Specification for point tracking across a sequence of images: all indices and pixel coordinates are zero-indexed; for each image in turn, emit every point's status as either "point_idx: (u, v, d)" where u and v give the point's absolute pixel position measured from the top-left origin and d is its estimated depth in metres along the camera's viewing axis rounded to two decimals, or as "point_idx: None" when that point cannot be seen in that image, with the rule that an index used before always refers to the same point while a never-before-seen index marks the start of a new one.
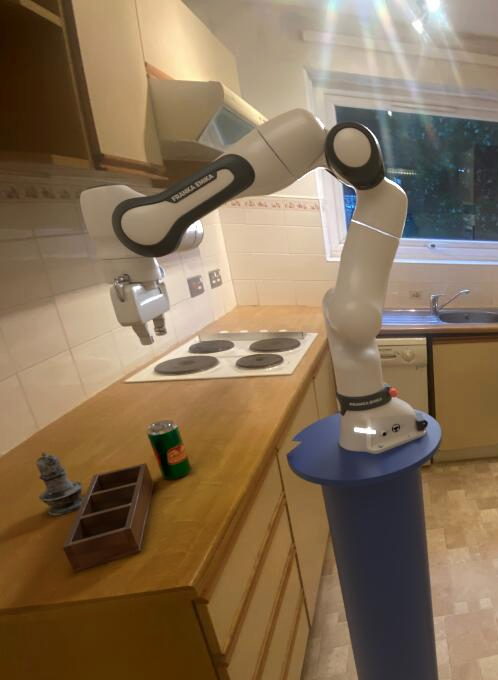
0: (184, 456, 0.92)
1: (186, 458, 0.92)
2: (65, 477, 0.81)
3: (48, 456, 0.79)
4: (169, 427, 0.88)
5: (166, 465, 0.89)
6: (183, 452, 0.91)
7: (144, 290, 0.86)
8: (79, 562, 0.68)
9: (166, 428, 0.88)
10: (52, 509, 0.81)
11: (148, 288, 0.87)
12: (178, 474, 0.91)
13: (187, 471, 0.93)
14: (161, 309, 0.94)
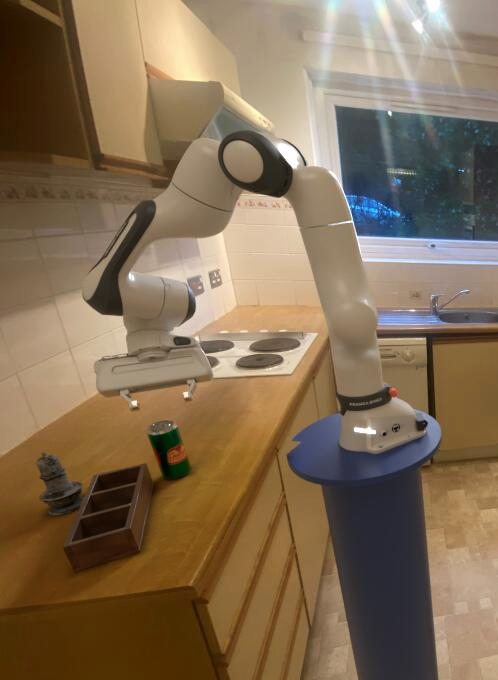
0: (184, 456, 0.92)
1: (186, 458, 0.92)
2: (65, 477, 0.81)
3: (48, 456, 0.79)
4: (169, 427, 0.88)
5: (166, 465, 0.89)
6: (183, 452, 0.91)
7: (136, 361, 0.94)
8: (79, 562, 0.68)
9: (166, 428, 0.88)
10: (52, 509, 0.81)
11: (140, 359, 0.94)
12: (178, 474, 0.91)
13: (187, 471, 0.93)
14: (174, 375, 0.96)
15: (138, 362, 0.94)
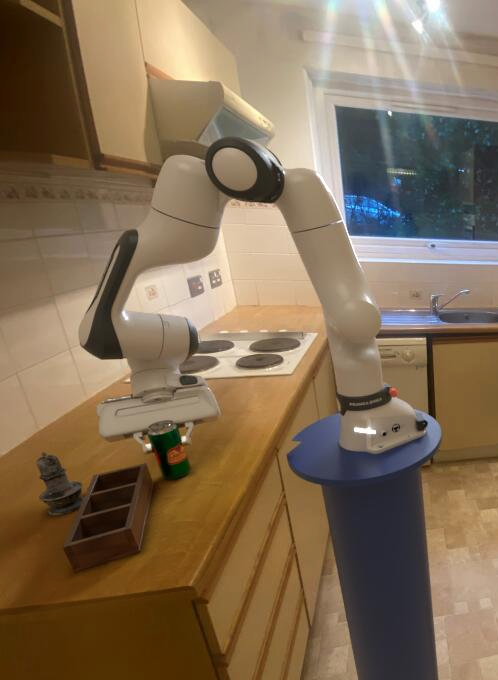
0: (184, 456, 0.92)
1: (186, 458, 0.92)
2: (65, 477, 0.81)
3: (48, 456, 0.79)
4: (169, 427, 0.88)
5: (166, 465, 0.89)
6: (183, 452, 0.91)
7: (140, 403, 0.90)
8: (79, 562, 0.68)
9: (166, 428, 0.88)
10: (52, 509, 0.81)
11: (145, 400, 0.90)
12: (178, 474, 0.91)
13: (187, 471, 0.93)
14: (180, 417, 0.92)
15: (143, 404, 0.90)
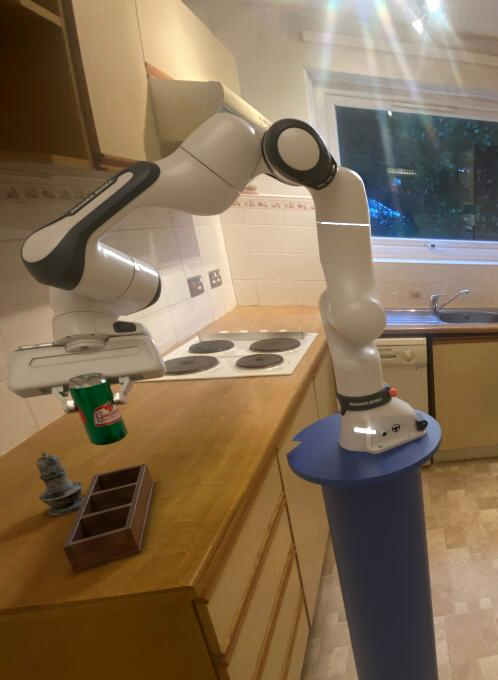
0: (116, 417, 0.76)
1: (120, 420, 0.76)
2: (65, 477, 0.81)
3: (48, 456, 0.79)
4: (96, 380, 0.72)
5: (94, 427, 0.74)
6: (115, 412, 0.75)
7: (63, 352, 0.74)
8: (79, 562, 0.68)
9: (91, 381, 0.72)
10: (52, 509, 0.81)
11: (68, 349, 0.74)
12: (109, 439, 0.75)
13: (121, 436, 0.77)
14: (113, 370, 0.76)
15: (66, 353, 0.74)
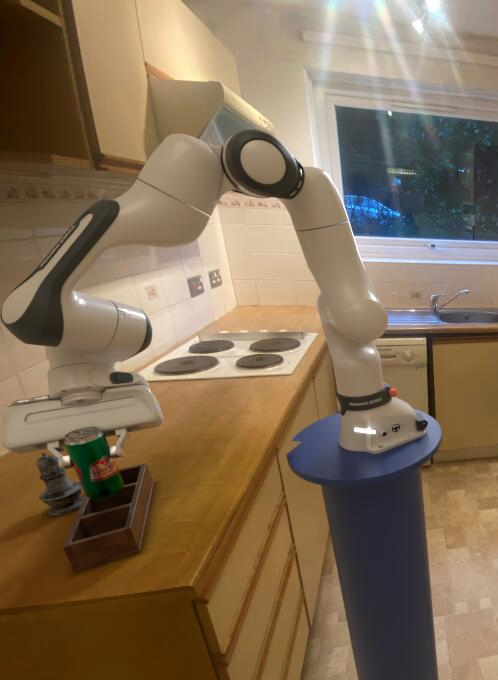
0: (113, 470, 0.75)
1: (116, 473, 0.76)
2: (65, 477, 0.81)
3: (48, 456, 0.79)
4: (92, 435, 0.72)
5: (90, 483, 0.73)
6: (112, 466, 0.75)
7: (58, 406, 0.73)
8: (79, 562, 0.68)
9: (87, 437, 0.71)
10: (52, 509, 0.81)
11: (64, 403, 0.74)
12: (105, 493, 0.74)
13: (118, 489, 0.76)
14: (109, 423, 0.75)
15: (62, 407, 0.74)
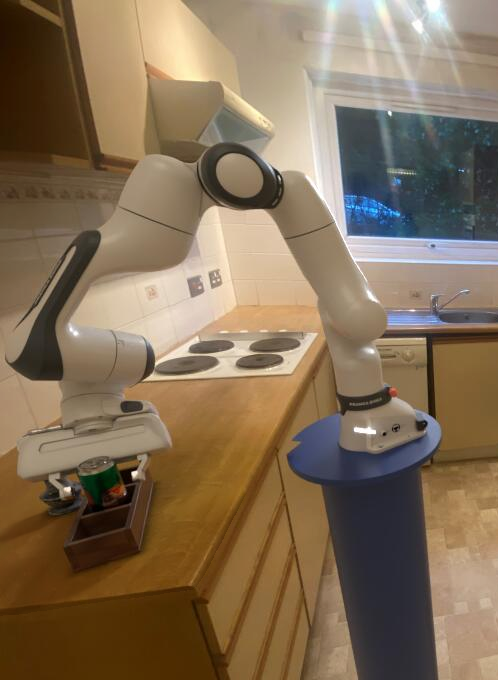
0: (124, 498, 0.77)
1: (127, 500, 0.78)
2: (65, 477, 0.81)
3: None
4: (104, 465, 0.74)
5: None
6: (123, 494, 0.77)
7: (71, 435, 0.76)
8: (79, 562, 0.68)
9: (100, 467, 0.73)
10: (52, 509, 0.81)
11: (76, 432, 0.76)
12: None
13: None
14: (120, 451, 0.77)
15: (74, 436, 0.76)
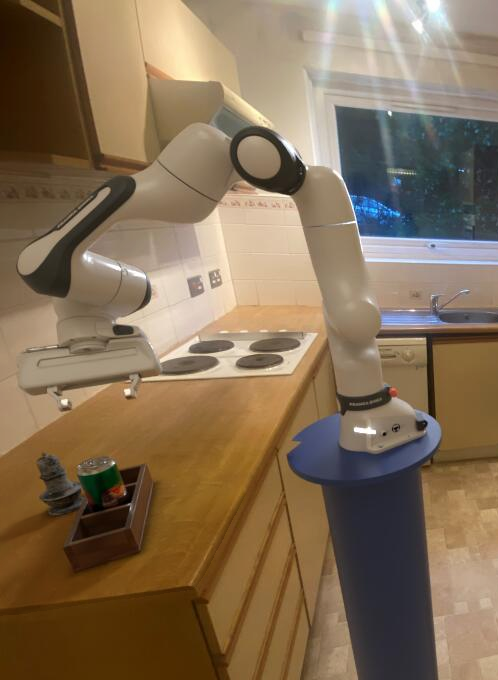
0: (124, 498, 0.77)
1: (127, 500, 0.78)
2: (65, 477, 0.81)
3: (48, 456, 0.79)
4: (104, 465, 0.74)
5: None
6: (123, 494, 0.77)
7: (67, 354, 0.81)
8: (79, 562, 0.68)
9: (100, 467, 0.73)
10: (52, 509, 0.81)
11: (72, 351, 0.81)
12: None
13: None
14: (113, 369, 0.83)
15: (70, 354, 0.82)
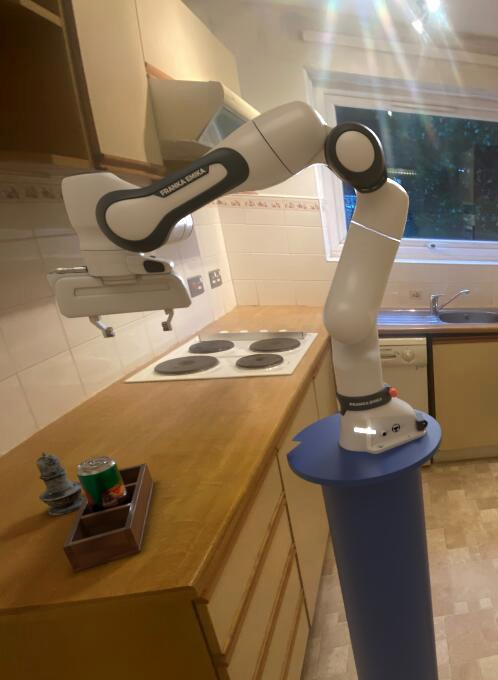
0: (124, 498, 0.77)
1: (127, 500, 0.78)
2: (65, 477, 0.81)
3: (48, 456, 0.79)
4: (104, 465, 0.74)
5: None
6: (123, 494, 0.77)
7: (100, 284, 0.82)
8: (79, 562, 0.68)
9: (100, 467, 0.73)
10: (52, 509, 0.81)
11: (106, 283, 0.82)
12: None
13: None
14: (149, 305, 0.87)
15: (103, 285, 0.82)
